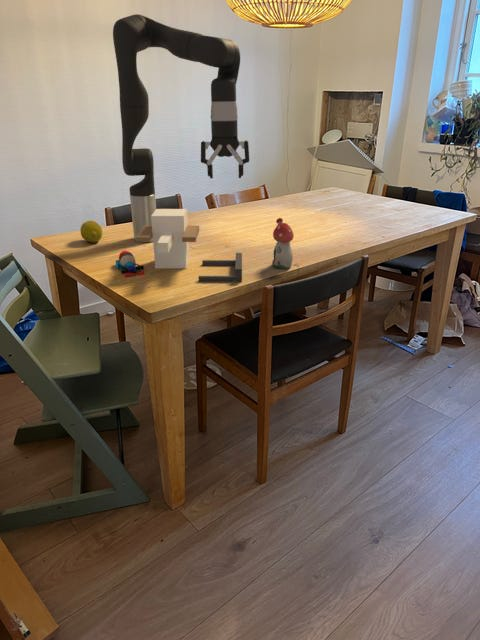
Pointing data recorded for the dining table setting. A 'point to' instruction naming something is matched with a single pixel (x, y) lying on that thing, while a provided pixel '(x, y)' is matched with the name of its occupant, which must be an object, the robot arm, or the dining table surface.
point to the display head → (169, 237)
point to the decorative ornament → (282, 245)
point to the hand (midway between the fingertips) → (225, 177)
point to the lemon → (91, 231)
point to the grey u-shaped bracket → (222, 263)
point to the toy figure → (128, 264)
